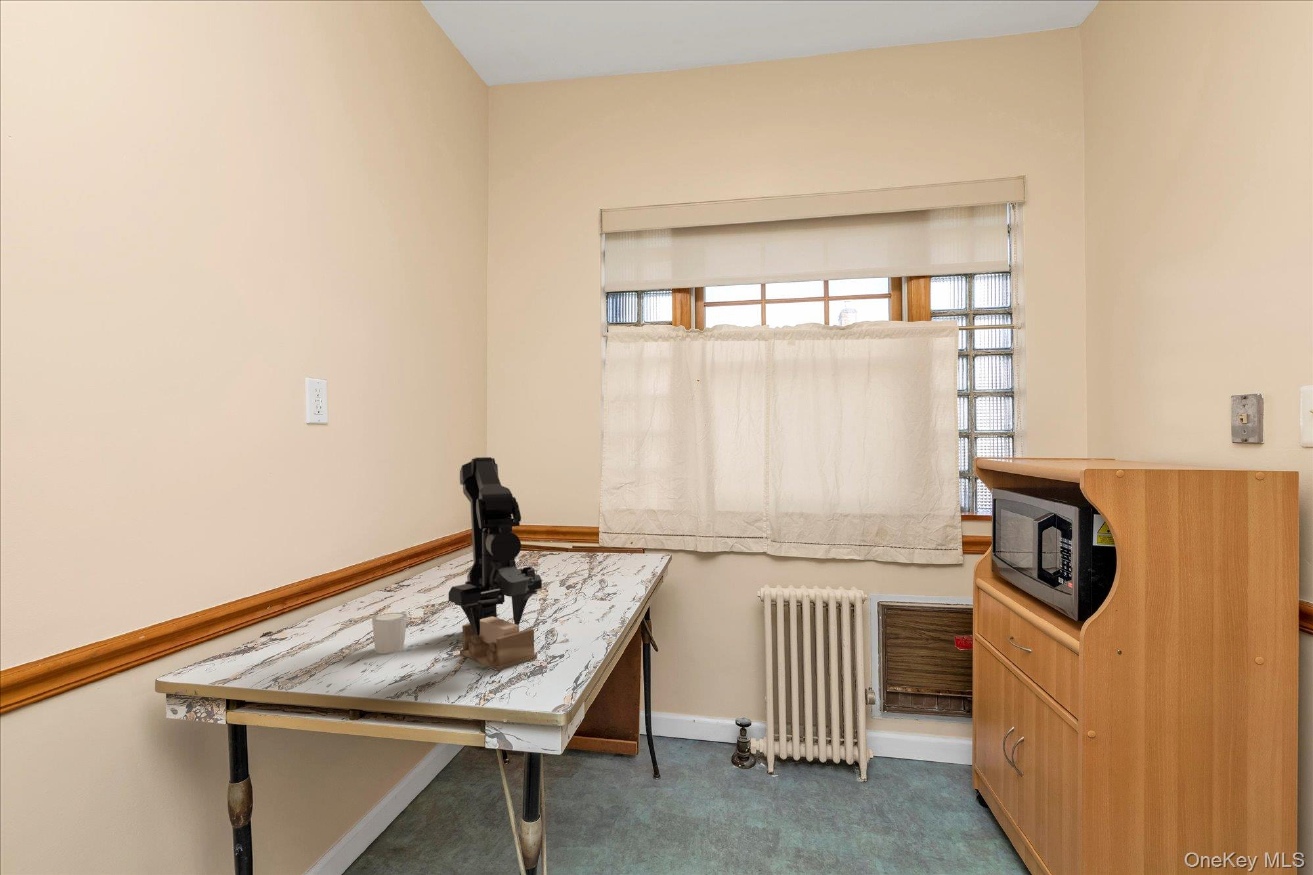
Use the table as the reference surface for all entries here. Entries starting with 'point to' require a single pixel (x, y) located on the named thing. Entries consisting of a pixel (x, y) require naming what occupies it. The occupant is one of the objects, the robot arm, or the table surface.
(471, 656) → the rack
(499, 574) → the robot arm
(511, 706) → the table surface
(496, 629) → the tan rectangular block
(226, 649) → the table surface
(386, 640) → the white tapered cup
